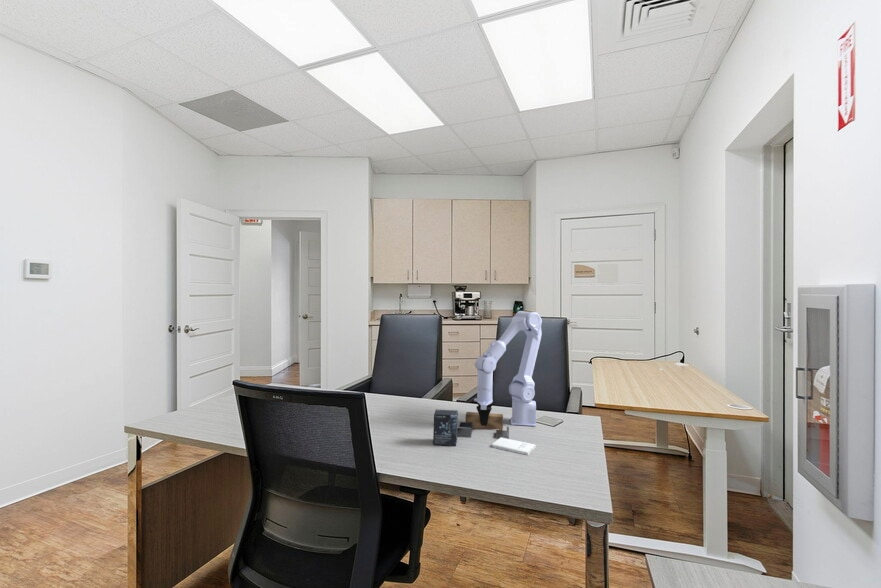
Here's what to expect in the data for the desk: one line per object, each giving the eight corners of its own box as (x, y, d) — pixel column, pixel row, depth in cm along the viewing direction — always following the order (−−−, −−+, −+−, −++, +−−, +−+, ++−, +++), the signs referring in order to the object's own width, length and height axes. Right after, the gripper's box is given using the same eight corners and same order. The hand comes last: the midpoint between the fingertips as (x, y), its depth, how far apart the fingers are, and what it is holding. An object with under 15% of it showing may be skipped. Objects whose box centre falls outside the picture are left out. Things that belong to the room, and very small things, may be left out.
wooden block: (502, 427, 158) (503, 414, 158) (502, 430, 155) (502, 416, 154) (466, 424, 160) (466, 411, 160) (465, 427, 157) (465, 414, 157)
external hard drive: (501, 441, 145) (535, 448, 138) (491, 448, 138) (527, 456, 131) (501, 436, 145) (535, 443, 138) (491, 444, 138) (528, 451, 131)
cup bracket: (472, 430, 154) (472, 422, 154) (470, 437, 147) (471, 428, 146) (458, 429, 155) (458, 421, 155) (455, 435, 147) (455, 427, 147)
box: (433, 445, 138) (433, 413, 138) (434, 439, 144) (435, 409, 144) (456, 446, 137) (457, 414, 137) (457, 440, 143) (457, 410, 143)
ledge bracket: (508, 433, 151) (508, 426, 151) (508, 439, 145) (508, 432, 145) (496, 432, 152) (496, 425, 152) (495, 438, 146) (495, 431, 146)
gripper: (475, 383, 165) (475, 417, 165) (472, 391, 151) (472, 428, 151) (493, 384, 164) (493, 418, 164) (492, 393, 150) (491, 430, 150)
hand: (484, 423), depth 157 cm, fingers closed on wooden block, 3 cm apart
